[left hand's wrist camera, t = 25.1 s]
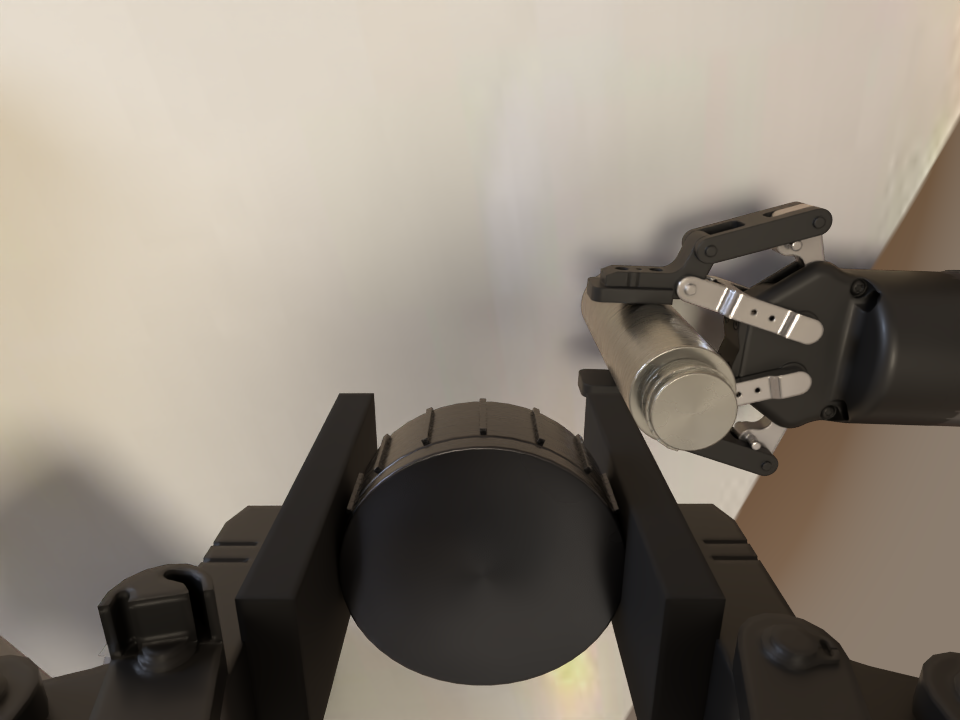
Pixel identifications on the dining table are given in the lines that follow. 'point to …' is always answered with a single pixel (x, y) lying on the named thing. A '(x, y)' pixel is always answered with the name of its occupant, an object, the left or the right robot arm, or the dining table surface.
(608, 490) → the lid
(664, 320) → the grey metal cylinder
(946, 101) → the dining table surface
